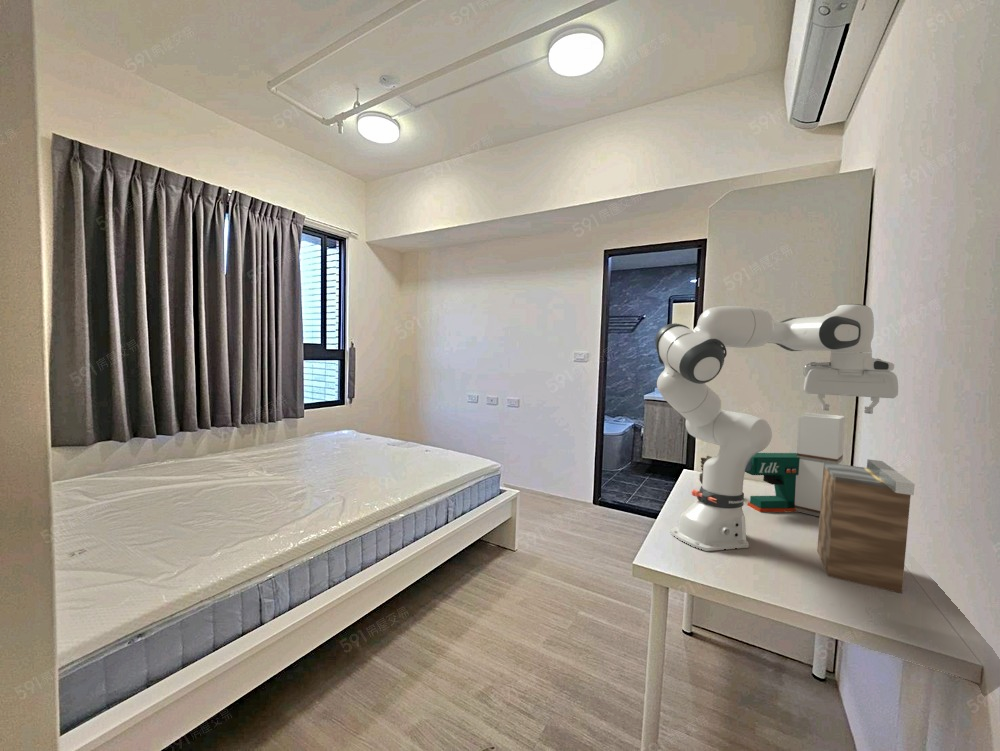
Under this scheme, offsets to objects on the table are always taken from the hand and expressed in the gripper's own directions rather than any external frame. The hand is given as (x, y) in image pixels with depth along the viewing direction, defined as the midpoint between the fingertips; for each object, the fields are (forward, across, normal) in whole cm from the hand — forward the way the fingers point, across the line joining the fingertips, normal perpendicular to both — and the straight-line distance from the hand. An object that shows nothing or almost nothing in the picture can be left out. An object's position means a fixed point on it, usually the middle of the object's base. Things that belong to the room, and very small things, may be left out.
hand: (846, 411), depth 116 cm
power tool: (+41, -18, +26) cm, 52 cm away
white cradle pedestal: (+41, 0, +34) cm, 54 cm away
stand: (+41, +2, -10) cm, 42 cm away
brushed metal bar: (+15, +6, -15) cm, 22 cm away
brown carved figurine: (+41, -36, +35) cm, 65 cm away
